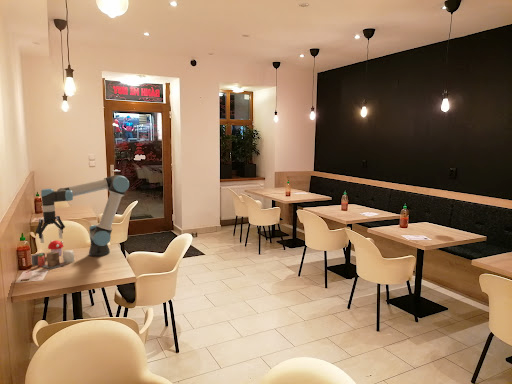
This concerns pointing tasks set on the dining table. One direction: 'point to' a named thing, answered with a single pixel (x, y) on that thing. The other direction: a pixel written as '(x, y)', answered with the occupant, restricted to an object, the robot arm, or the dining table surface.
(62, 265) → the slate coaster
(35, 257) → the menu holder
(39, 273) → the dining table surface
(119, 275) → the dining table surface
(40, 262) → the sauce shaker
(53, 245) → the mushroom
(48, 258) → the walnut block
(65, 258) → the beige rounded block
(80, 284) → the dining table surface
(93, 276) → the dining table surface
